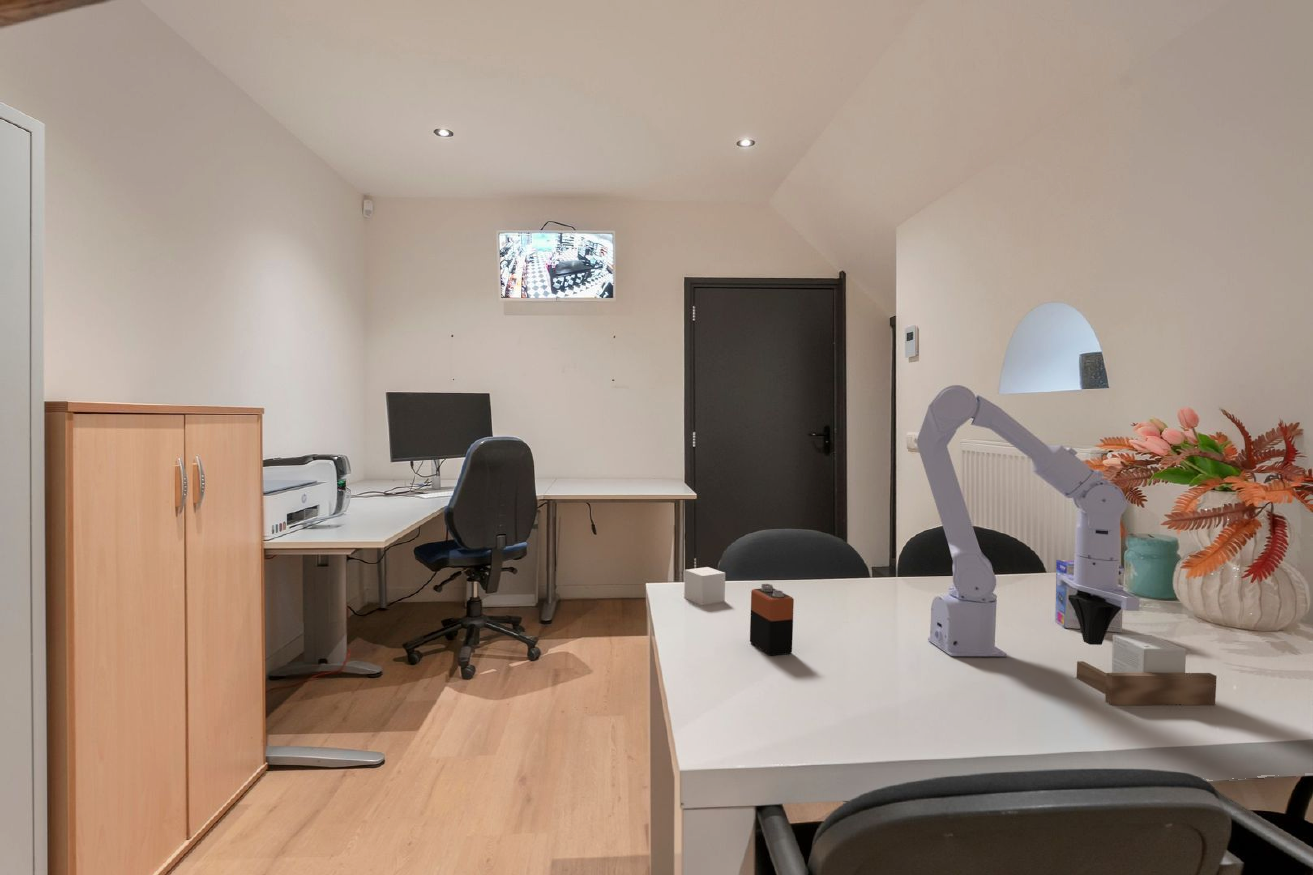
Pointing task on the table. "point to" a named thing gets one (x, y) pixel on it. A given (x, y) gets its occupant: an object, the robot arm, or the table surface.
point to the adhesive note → (704, 585)
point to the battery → (771, 620)
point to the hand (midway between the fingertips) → (1092, 643)
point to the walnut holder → (1150, 687)
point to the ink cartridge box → (1063, 606)
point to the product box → (1146, 655)
